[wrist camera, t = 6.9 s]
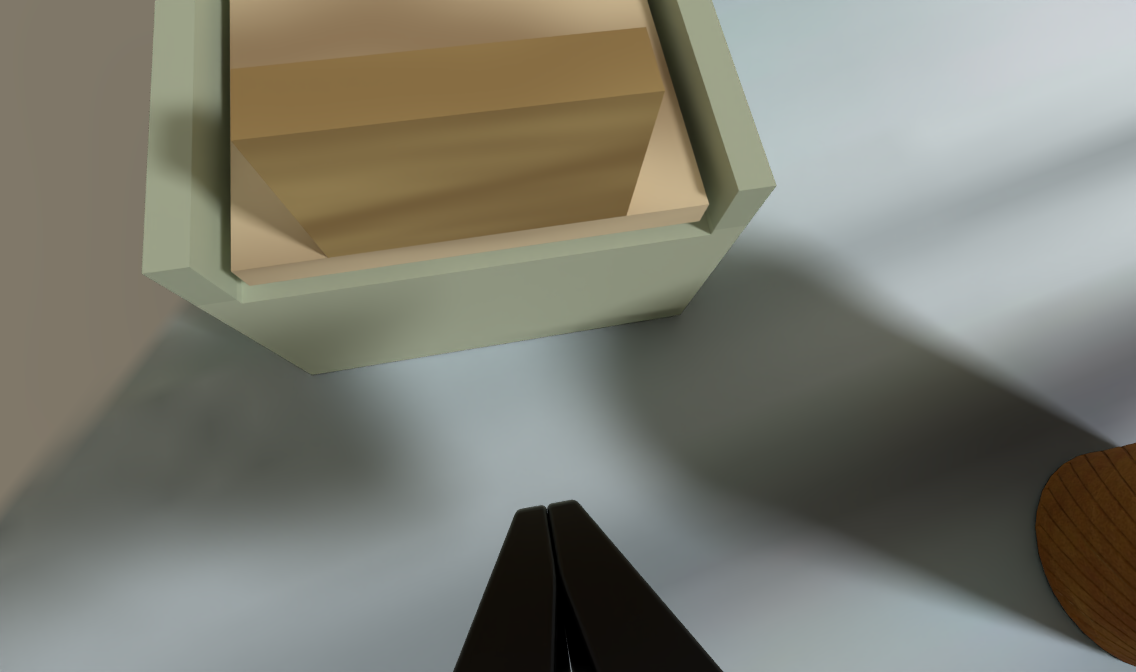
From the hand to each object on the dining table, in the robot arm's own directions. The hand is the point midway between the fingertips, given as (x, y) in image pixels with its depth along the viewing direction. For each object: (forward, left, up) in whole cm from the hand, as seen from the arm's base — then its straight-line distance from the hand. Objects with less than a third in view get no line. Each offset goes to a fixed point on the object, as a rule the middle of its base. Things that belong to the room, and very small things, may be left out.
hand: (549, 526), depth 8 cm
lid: (+10, 0, -2) cm, 10 cm away
